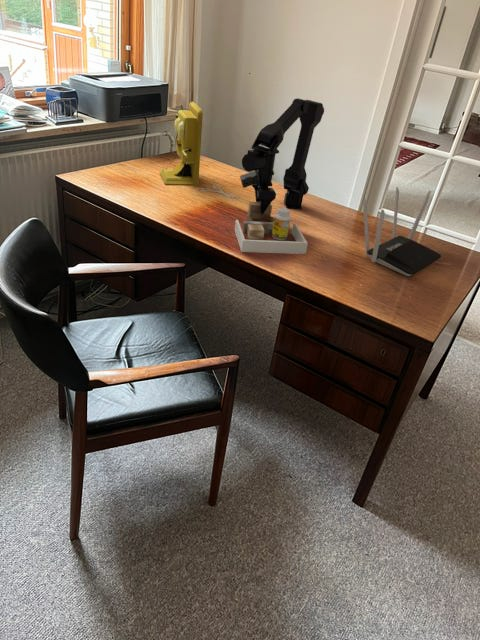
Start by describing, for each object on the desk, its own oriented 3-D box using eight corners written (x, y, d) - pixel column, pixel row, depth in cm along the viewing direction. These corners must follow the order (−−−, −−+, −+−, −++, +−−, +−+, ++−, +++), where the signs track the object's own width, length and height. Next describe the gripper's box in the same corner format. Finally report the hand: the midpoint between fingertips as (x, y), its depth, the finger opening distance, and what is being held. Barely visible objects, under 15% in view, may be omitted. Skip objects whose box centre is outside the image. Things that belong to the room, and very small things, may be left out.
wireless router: (401, 285, 147) (422, 224, 136) (339, 256, 160) (354, 198, 148) (446, 257, 169) (467, 203, 158) (389, 233, 181) (404, 182, 170)
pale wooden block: (260, 233, 168) (261, 224, 166) (263, 239, 164) (264, 230, 162) (246, 233, 167) (247, 223, 165) (248, 239, 163) (250, 229, 161)
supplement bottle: (268, 234, 168) (273, 206, 162) (283, 233, 170) (287, 206, 164) (275, 241, 164) (279, 213, 158) (289, 240, 166) (294, 212, 160)
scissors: (213, 183, 206) (249, 197, 196) (212, 185, 206) (249, 198, 197) (196, 188, 199) (232, 202, 189) (196, 190, 199) (232, 204, 190)
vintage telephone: (155, 166, 217) (156, 95, 201) (185, 167, 222) (188, 97, 205) (167, 190, 193) (169, 112, 176) (201, 190, 197) (206, 114, 181)
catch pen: (293, 232, 172) (295, 222, 169) (305, 254, 158) (307, 243, 156) (234, 230, 168) (235, 219, 165) (241, 251, 154) (242, 240, 152)
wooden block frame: (278, 217, 182) (280, 203, 179) (287, 234, 170) (290, 219, 167) (237, 215, 180) (238, 200, 176) (243, 232, 167) (245, 217, 164)
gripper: (239, 157, 175) (235, 198, 183) (247, 173, 160) (242, 217, 168) (268, 159, 177) (263, 200, 185) (279, 176, 162) (272, 219, 170)
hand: (259, 208), depth 177 cm, fingers open, 9 cm apart
